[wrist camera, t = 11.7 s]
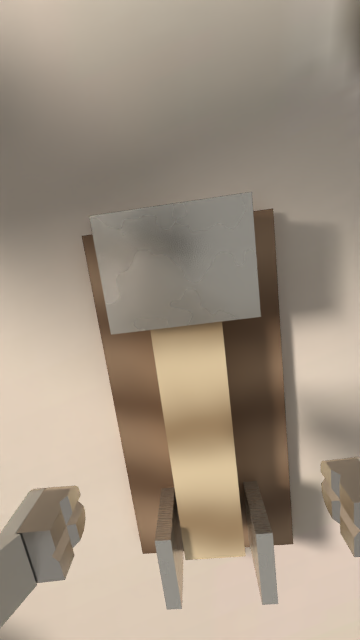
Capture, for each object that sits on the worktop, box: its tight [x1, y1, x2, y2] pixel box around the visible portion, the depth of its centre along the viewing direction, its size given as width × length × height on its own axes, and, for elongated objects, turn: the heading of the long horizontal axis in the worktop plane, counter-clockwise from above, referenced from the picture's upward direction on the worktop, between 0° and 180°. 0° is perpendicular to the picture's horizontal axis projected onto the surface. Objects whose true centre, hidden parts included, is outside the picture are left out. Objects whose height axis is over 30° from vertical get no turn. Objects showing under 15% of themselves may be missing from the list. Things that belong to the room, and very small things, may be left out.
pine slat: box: [150, 321, 245, 560], centre depth 17 cm, size 20×4×3 cm, turn 7°
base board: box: [82, 209, 293, 554], centre depth 19 cm, size 25×12×1 cm, turn 7°
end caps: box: [89, 192, 278, 609], centre depth 16 cm, size 24×7×5 cm, turn 7°
